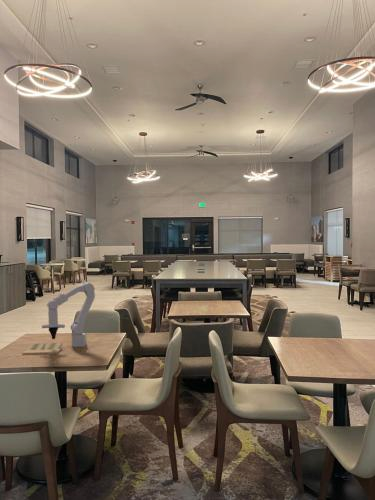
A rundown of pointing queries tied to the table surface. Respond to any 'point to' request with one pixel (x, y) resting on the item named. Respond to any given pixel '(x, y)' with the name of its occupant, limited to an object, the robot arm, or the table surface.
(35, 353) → the floor base
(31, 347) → the plank
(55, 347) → the plank
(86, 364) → the table surface
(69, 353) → the table surface
